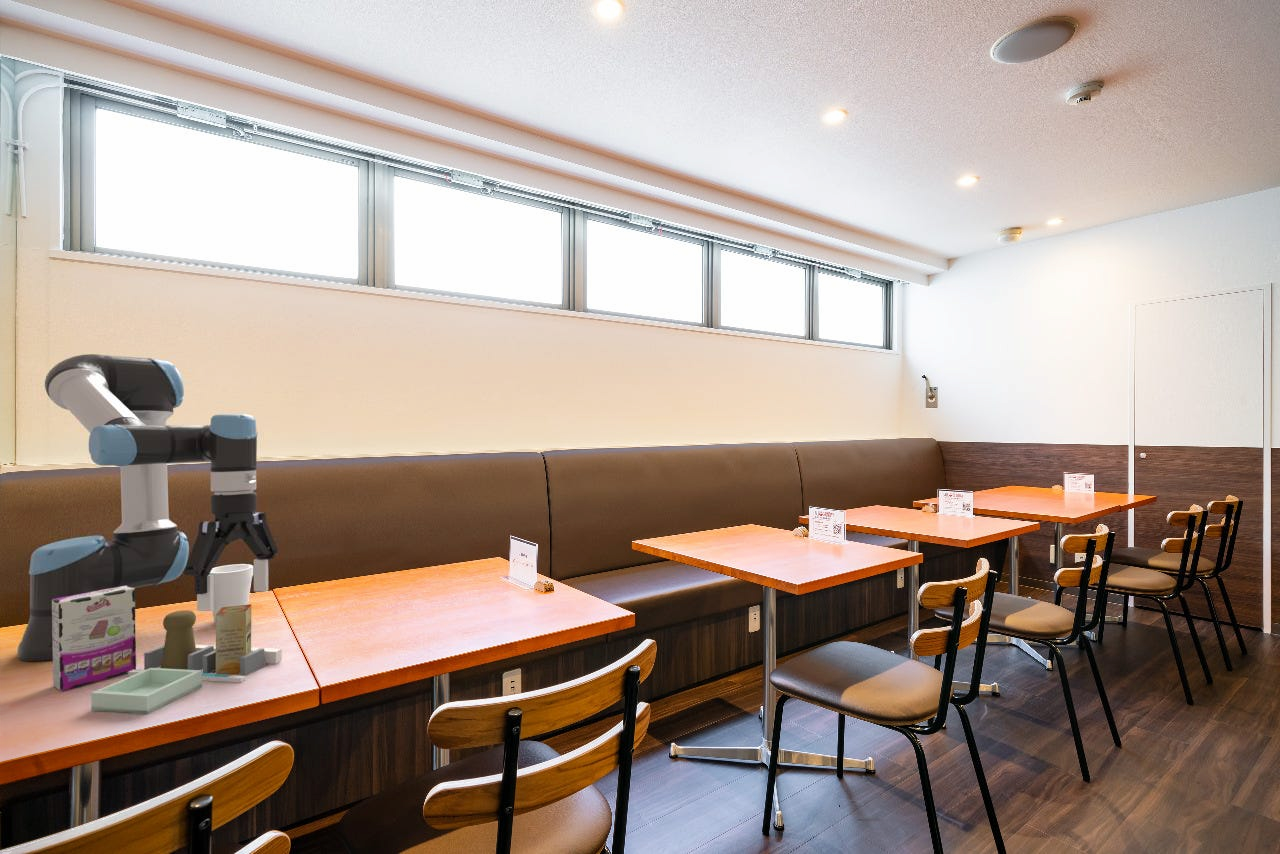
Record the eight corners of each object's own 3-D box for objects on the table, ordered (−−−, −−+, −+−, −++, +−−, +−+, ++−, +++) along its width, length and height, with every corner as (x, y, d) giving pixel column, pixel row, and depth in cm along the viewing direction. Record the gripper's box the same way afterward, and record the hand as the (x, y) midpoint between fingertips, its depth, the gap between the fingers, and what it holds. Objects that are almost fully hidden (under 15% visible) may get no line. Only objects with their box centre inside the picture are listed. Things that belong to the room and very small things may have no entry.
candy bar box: (127, 666, 119) (127, 584, 119) (136, 671, 116) (137, 587, 116) (50, 686, 109) (50, 597, 109) (59, 693, 107) (59, 602, 107)
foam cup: (235, 627, 142) (235, 573, 142) (197, 627, 142) (197, 573, 142) (261, 614, 151) (261, 564, 151) (225, 614, 152) (225, 564, 152)
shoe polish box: (251, 663, 120) (251, 604, 120) (246, 672, 116) (246, 611, 116) (222, 667, 118) (222, 607, 118) (215, 676, 114) (215, 614, 114)
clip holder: (127, 675, 114) (128, 657, 114) (177, 655, 124) (177, 638, 124) (241, 682, 111) (241, 663, 111) (281, 660, 121) (281, 643, 121)
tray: (91, 710, 100) (91, 692, 100) (150, 683, 110) (150, 667, 110) (147, 714, 99) (147, 696, 99) (201, 686, 109) (201, 670, 109)
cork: (182, 673, 115) (182, 616, 115) (151, 673, 115) (152, 616, 115) (205, 661, 121) (206, 607, 121) (176, 660, 121) (177, 607, 121)
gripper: (196, 499, 104) (197, 620, 104) (296, 486, 129) (296, 584, 129) (158, 499, 105) (159, 619, 105) (264, 486, 130) (265, 583, 130)
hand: (234, 600), depth 117 cm, fingers open, 13 cm apart
